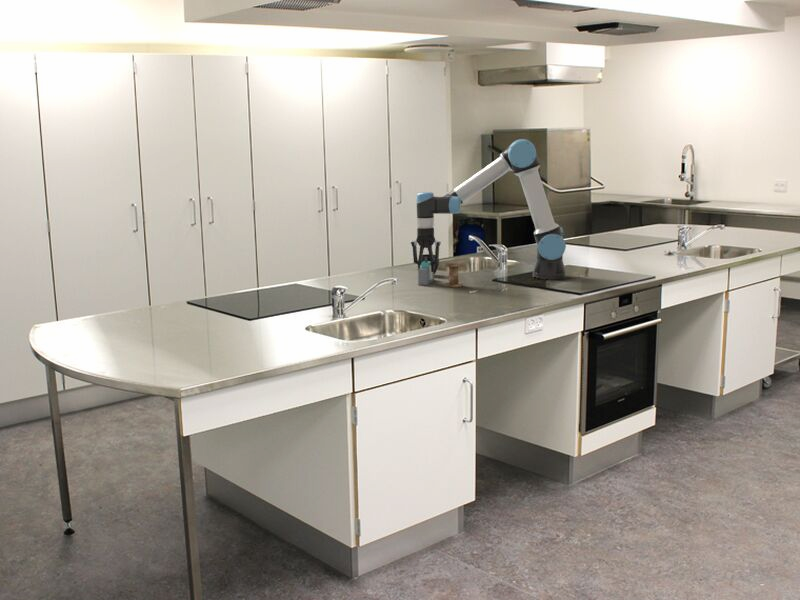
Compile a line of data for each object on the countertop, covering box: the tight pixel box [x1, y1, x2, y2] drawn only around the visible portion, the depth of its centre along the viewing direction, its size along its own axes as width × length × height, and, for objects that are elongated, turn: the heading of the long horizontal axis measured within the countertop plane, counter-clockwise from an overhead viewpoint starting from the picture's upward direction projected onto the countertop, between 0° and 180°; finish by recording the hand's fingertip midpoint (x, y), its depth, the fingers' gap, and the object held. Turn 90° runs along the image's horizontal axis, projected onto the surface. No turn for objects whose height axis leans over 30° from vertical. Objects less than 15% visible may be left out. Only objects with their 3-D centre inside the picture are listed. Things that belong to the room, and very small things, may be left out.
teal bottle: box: [421, 257, 431, 280], centre depth 394 cm, size 4×4×10 cm
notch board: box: [417, 268, 435, 286], centre depth 394 cm, size 4×14×7 cm, turn 165°
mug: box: [422, 253, 440, 275], centre depth 411 cm, size 8×12×10 cm
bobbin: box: [444, 261, 464, 288], centre depth 384 cm, size 8×8×10 cm
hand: (426, 278), depth 395 cm, fingers closed on teal bottle, 3 cm apart
